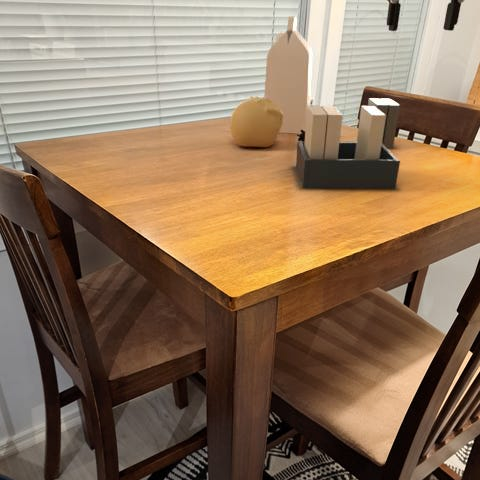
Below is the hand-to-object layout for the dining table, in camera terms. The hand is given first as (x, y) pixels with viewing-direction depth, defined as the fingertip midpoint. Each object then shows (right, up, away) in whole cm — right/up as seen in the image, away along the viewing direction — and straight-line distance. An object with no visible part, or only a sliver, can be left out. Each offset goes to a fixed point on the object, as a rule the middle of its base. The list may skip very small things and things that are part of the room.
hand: (420, 30), depth 86 cm
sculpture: (-28, -9, +33) cm, 44 cm away
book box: (-12, -24, +9) cm, 28 cm away
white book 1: (-18, -23, +9) cm, 30 cm away
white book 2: (-15, -23, +9) cm, 29 cm away
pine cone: (-13, -8, +34) cm, 37 cm away
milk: (-19, +2, +50) cm, 53 cm away
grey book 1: (0, -9, +33) cm, 34 cm away
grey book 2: (+3, -9, +33) cm, 34 cm away
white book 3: (-8, -23, +9) cm, 26 cm away
